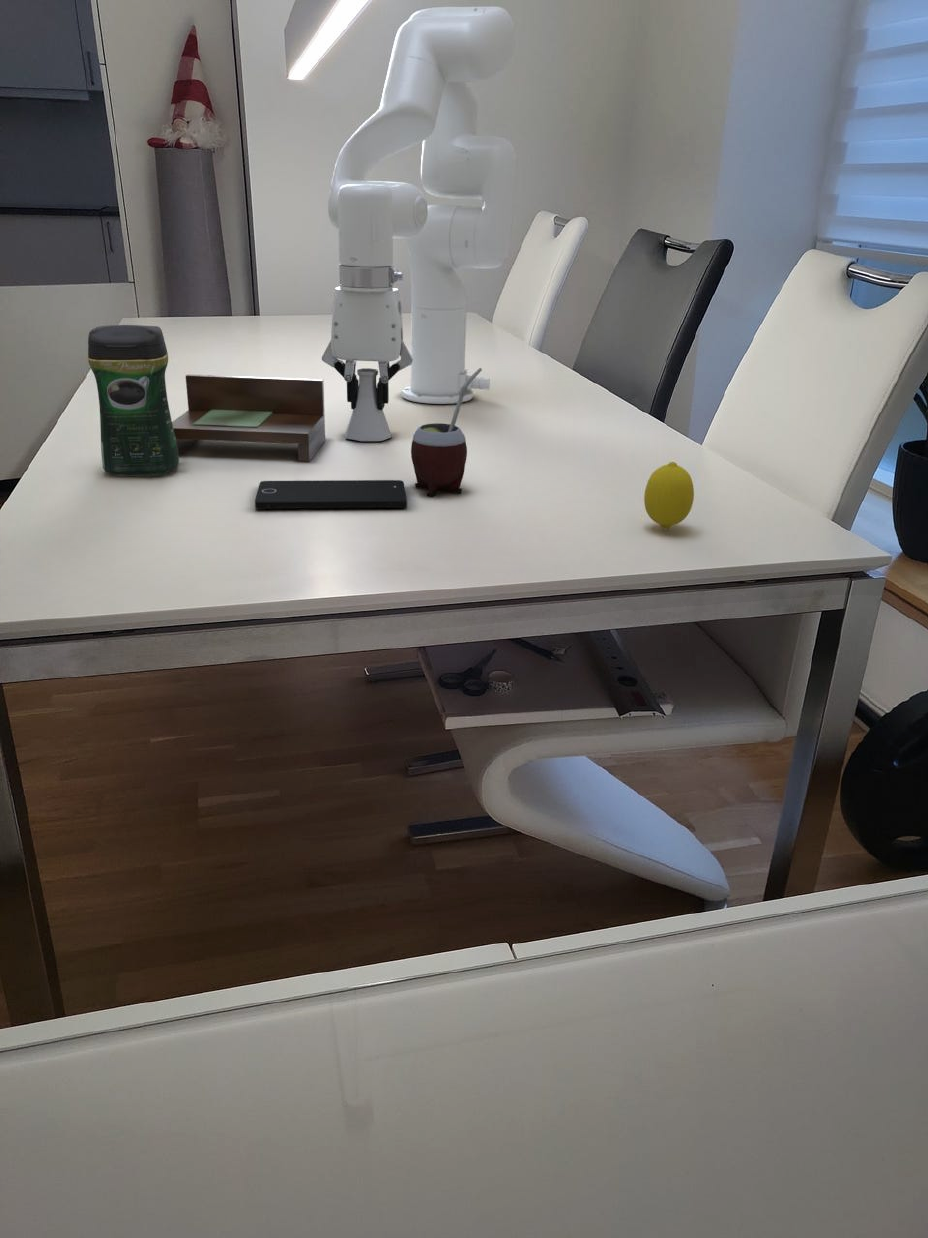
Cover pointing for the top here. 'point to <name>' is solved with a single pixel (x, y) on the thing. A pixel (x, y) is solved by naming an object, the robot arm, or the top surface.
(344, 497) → the cell phone
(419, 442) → the mate gourd
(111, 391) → the coffee jar
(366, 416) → the flask
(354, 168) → the robot arm
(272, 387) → the shelf
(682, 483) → the lemon
